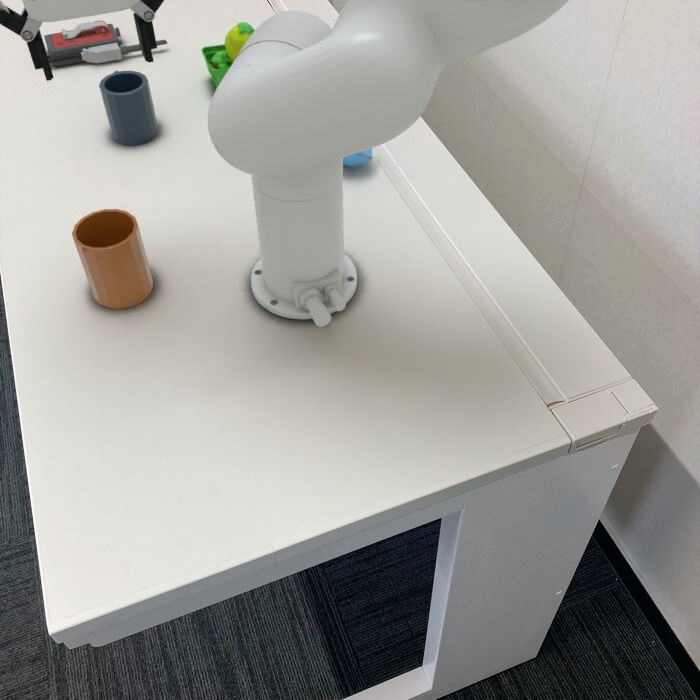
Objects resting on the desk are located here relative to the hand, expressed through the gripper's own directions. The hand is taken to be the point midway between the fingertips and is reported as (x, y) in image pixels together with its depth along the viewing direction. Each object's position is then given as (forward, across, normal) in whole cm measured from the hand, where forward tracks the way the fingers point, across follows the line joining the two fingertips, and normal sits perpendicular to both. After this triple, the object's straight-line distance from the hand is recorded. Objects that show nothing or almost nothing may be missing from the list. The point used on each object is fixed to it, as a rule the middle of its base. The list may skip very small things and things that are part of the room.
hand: (98, 64), depth 76 cm
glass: (+26, -4, -4) cm, 26 cm away
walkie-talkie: (+26, +4, +54) cm, 60 cm away
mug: (+26, +4, +30) cm, 39 cm away
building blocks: (+26, +28, +12) cm, 40 cm away
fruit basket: (+26, +23, +35) cm, 49 cm away
